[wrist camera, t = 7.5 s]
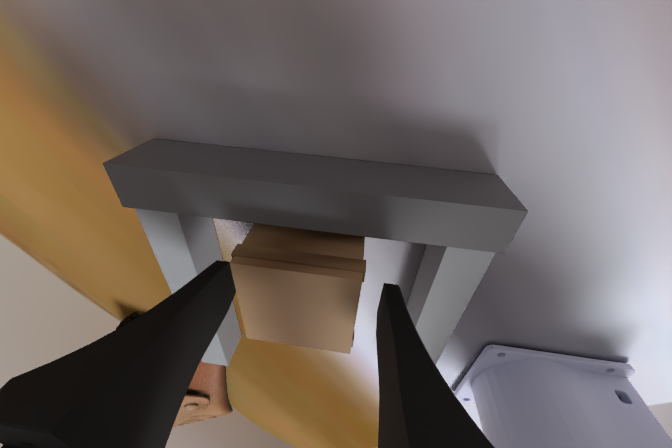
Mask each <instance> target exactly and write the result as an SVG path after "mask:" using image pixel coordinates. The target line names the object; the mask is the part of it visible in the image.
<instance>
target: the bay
mask: <svg viewBox="0 0 672 448" xmlns="http://www.w3.org/2000/svg"><path fill="white" fill-rule="evenodd" d="M103 165H104V167H105V169H106V172H107V174H108V176H109V178H110V180H111V182H112V184H113V187H114V189H115V191H116V193H117V195H118V197H119V199H120V202H121V204H122V206H123V207H128V208H135V210H136V213H137V215H138V217H139V219H140V222H141V224H142V226H143V229H144V231H145V233H146V235H147V238H148V240H149V242H150V244H151V247H152V249H153V251H154V254H155V256H156V258H157V260H158V263H159V265H160V267H161V270H162V272H163V274H164V276H165V279H166V281H167V283H168V285H169V288H170V290H171V292H172V294H173V293H175V292H176V291H177V290H179V289H180V288H181V287H183V286H184V285H185V284H187V283H188V282H189V281H191V280H192V279H193V278H194V277H196V276H197V275H198V274H200V273H201V272H202V271H203V270H205V269H206V268H207V267H209V266H210V265H211V264H212V263H214V262H215V261H216V260H219V261H223V259H222V255H221V251H220V247H219V243H218V239H217V235H216V231H215V227H214V222H213V218H218V219H226V220H234V221H242V222H250V223H258V224H266V225H275V226H283V227H291V228H299V229H307V230H315V231H323V232H331V233H340V234H348V235H356V236H364V237H372V238H380V239H388V240H397V241H405V242H413V243H421V244H427V245H426V248H425V251H424V254H423V257H422V260H421V263H420V266H419V269H418V272H417V275H416V278H415V281H414V284H413V287H412V290H411V293H410V296H409V299H408V302H407V305H406V307H407V309H408V312H409V314H410V317H411V319H412V321H413V323H414V325H415V328H416V330H417V332H418V334H419V336H420V338H421V340H422V342H423V344H424V346H425V348H426V350H427V351H428V353H429V355H430V357H431V359H432V360H433V362H434V364H435V365H436V363H437V361H438V359H439V357H440V355H441V353H442V352H443V350H444V348H445V346H446V344H447V342H448V340H449V339H450V337H451V335H452V333H453V331H454V329H455V327H456V326H457V324H458V322H459V320H460V318H461V316H462V314H463V313H464V311H465V309H466V307H467V305H468V303H469V301H470V300H471V298H472V296H473V294H474V292H475V290H476V288H477V287H478V285H479V283H480V281H481V279H482V277H483V275H484V274H485V272H486V270H487V268H488V266H489V264H490V262H491V261H492V259H493V257H494V255H495V253H502V254H504V253H505V251H506V250H507V248H508V246H509V244H510V243H511V241H512V239H513V237H514V235H515V234H516V232H517V230H518V228H519V227H520V225H521V223H522V221H523V219H524V218H525V216H526V214H527V212H528V211H527V210H526V208H525V207H524V206H523V205H522V204H521V202H520V201H519V200H518V199H517V198H516V196H515V195H514V194H513V193H512V192H511V190H510V189H509V188H508V187H507V186H506V185H505V183H504V182H503V181H502V180H501V179H500V177H499V176H498V175H493V174H484V173H474V172H465V171H455V170H446V169H436V168H427V167H417V166H408V165H398V164H389V163H380V162H370V161H361V160H351V159H342V158H332V157H323V156H313V155H304V154H294V153H285V152H275V151H266V150H256V149H247V148H237V147H228V146H218V145H209V144H200V143H190V142H181V141H171V140H162V139H152V140H150V141H148V142H146V143H144V144H142V145H140V146H138V147H135V148H133V149H131V150H129V151H127V152H125V153H123V154H121V155H119V156H117V157H115V158H113V159H111V160H109V161H106V162H104V163H103ZM241 336H242V335H241V331H240V327H239V323H238V319H237V315H236V311H235V307H234V303H233V301H232V303H231V305H230V308H229V310H228V312H227V314H226V316H225V318H224V320H223V322H222V323H221V325H220V327H219V329H218V331H217V332H216V334H215V336H214V338H213V339H212V341H211V343H210V345H209V347H208V348H207V350H206V352H205V354H204V356H203V357H202V359H201V361H202V362H205V363H211V364H218V365H224V366H228V365H229V363H230V360H231V358H232V356H233V354H234V351H235V349H236V347H237V345H238V342H239V340H240V338H241Z"/></svg>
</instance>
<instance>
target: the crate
mask: <svg viewBox="0 0 672 448" xmlns="http://www.w3.org/2000/svg"><path fill="white" fill-rule="evenodd" d="M364 239H365V237H364V236H356V235H348V234H340V233H331V232H323V231H315V230H307V229H299V228H291V227H283V226H275V225H266V224H258V223H255V224H254V225H253V227H252V229H251V230H250V232H249V233H248V235H247V236H246V238H245V240H244V241H243V243H242V244H237V246H236V247H235V249H234V250H233V252H232V253H231V255H232V260H231V262H230V267H231V271H232V275H233V280H234V284H235V288H236V293H237V297H238V302H239V306H240V310H241V315H242V319H243V323H244V328H245V332H246V336H247V338H248V339H255V340H262V341H268V342H275V343H282V344H289V345H295V346H302V347H309V348H315V349H322V350H329V351H335V352H342V353H349V354H350V350H351V347H352V346H353V341H354V326H355V320H356V314H357V308H358V302H359V296H360V290H361V284H362V282H364V277H365V272H366V260H363V257H364Z"/></svg>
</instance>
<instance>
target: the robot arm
mask: <svg viewBox="0 0 672 448" xmlns="http://www.w3.org/2000/svg"><path fill="white" fill-rule="evenodd" d="M235 293H236V289H235V284H234V280H233V276H232V271H231V267H230V262H227V261H219V260H216V261H215V262H214V263H212V264H211V265H210V266H209V267H207V268H206V269H205V270H203V271H202V272H201V273H200V274H198V275H197V276H196V277H194V278H193V279H192V280H191V281H189V282H188V283H187V284H185V285H184V286H183V287H181V288H180V289H179V290H177V291H176V292H175V293H173V294H172V295H170V296H169V297H168V298H166V299H165V300H163V301H162V302H160V303H159V304H158V305H156V306H155V307H153V308H152V309H150V310H149V311H147V312H146V313H144V314H142V315H141V316H139V317H138V318H136V319H134V320H133V321H131V322H129V323H128V324H126V325H124V326H122V327H121V328H119V329H117V330H115V331H113V332H112V333H110V334H108V335H106V336H104V337H102V338H100V339H98V340H97V341H95V342H93V343H91V344H89V345H87V346H85V347H83V348H81V349H78V350H77V351H74V352H72V353H70V354H68V355H66V356H64V357H61V358H59V359H57V360H55V361H52V362H50V363H48V364H45V365H43V366H41V367H38V368H36V369H33V370H31V371H29V372H26V373H24V374H21V375H19V376H16V377H14V378H12V379H10V380H9V381H8V382H7V383H6V384H5V385H4V386H3V387H2V388H1V389H0V443H2V444H3V446H2V447H1V448H165V446H166V443H167V440H168V438H169V435H170V432H171V430H172V427H173V425H174V422H175V419H176V417H177V414H178V412H179V409H180V407H181V404H182V402H183V400H184V397H185V395H186V392H187V390H188V388H189V385H190V383H191V381H192V379H193V376H194V374H195V372H196V370H197V367H198V365H199V363H200V361H201V359H202V357H203V356H204V354H205V352H206V350H207V348H208V347H209V345H210V343H211V341H212V339H213V338H214V336H215V334H216V332H217V331H218V329H219V327H220V325H221V323H222V322H223V320H224V318H225V316H226V314H227V312H228V310H229V308H230V305H231V303H232V301H233V298H234V295H235ZM376 338H377V355H378V372H379V393H380V399H379V435H378V448H672V440H671V438H670V437H669V436H668V434H667V433H666V431H665V430H664V429H663V427H662V426H661V425H660V423H659V422H658V420H657V419H656V418H655V416H654V415H653V413H652V412H651V411H650V409H649V408H648V407H647V405H646V404H645V402H644V401H643V400H642V398H641V397H640V395H639V394H638V393H637V391H636V390H635V388H634V387H633V386H632V384H631V383H630V382H629V380H628V379H627V378H628V377H630V376H631V375H632V374H634V372H635V370H634V369H633V368H632V366H631V365H629V364H626V363H619V362H612V361H605V360H598V359H591V358H584V357H577V356H570V355H563V354H556V353H549V352H542V351H535V350H528V349H521V348H514V347H507V346H500V345H488V346H486V347H485V348H484V350H483V351H482V352H481V354H480V355H479V357H478V358H477V360H476V361H475V362H474V364H473V365H472V367H471V368H470V370H469V371H468V373H467V374H466V375H465V377H464V378H463V380H462V381H461V383H460V384H459V385H458V387H457V388H456V390H455V391H454V393H453V392H452V391H451V389H450V388H449V386H448V385H447V383H446V381H445V380H444V378H443V377H442V375H441V374H440V372H439V370H438V369H437V367H436V365H435V364H434V362H433V360H432V359H431V357H430V355H429V353H428V351H427V350H426V348H425V346H424V344H423V342H422V340H421V338H420V336H419V334H418V332H417V330H416V328H415V325H414V323H413V321H412V319H411V317H410V314H409V312H408V309H407V307H406V304H405V302H404V299H403V296H402V293H401V290H400V287H399V286H398V285H394V284H386V283H384V286H383V290H382V294H381V298H380V302H379V307H378V311H377V328H376ZM459 401H462V402H469V403H475V404H476V406H477V410H478V414H479V418H480V421H481V425H482V429H483V433H484V434H483V433H482V431H481V430H480V429H479V427H478V426H477V425H476V424H475V422H474V421H473V420H472V418H471V417H470V416H469V414H468V413H467V412H466V410H465V409H464V407H463V406H462V405H461V403H460V402H459Z"/></svg>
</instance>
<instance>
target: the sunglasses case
mask: <svg viewBox="0 0 672 448" xmlns="http://www.w3.org/2000/svg"><path fill="white" fill-rule="evenodd" d="M139 316H141V315H139V314H138V313H137V312H135V313H133V314H131V315H129V316H127V317H126V318H125V319H124V320H122V322H120V324H119V326H118V327H117V328H116V330H117V329H119V328H121V327H122V326H124V325H126V324H128V323H129V322H131V321H133V320H134V319H136V318H138V317H139ZM232 411H233V409H232V406H231V405H230V403H229V400H228V394H227V384H226V367H225V366H224V365H218V364H211V363H205V362H202V361H200V363H199V365H198V367H197V370H196V372H195V374H194V376H193V379H192V381H191V383H190V385H189V388H188V390H187V392H186V395H185V397H184V400H183V402H182V404H181V407H180V409H179V412H178V414H177V417H176V419H175V422H174V425H173V427H172V428H174V427H176V426H180V425H184V424H189V423H193V422H197V421H201V420H205V419H210V418H214V417H218V416H222V415H225V414H228V413H231V412H232Z"/></svg>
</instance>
